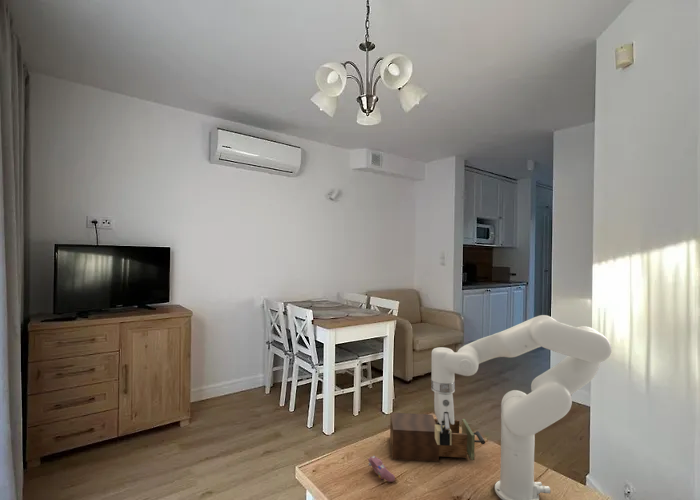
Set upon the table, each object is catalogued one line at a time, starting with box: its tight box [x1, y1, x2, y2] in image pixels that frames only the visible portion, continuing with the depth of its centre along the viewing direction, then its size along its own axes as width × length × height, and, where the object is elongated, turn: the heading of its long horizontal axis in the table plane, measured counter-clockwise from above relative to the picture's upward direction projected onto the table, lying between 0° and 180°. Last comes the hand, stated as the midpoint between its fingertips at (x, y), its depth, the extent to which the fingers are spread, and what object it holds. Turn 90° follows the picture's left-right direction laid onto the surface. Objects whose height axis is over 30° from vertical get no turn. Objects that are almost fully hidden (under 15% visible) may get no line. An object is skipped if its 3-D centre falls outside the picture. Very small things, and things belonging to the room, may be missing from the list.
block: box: [435, 425, 451, 445], centre depth 122 cm, size 5×5×5 cm
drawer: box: [434, 418, 486, 461], centre depth 139 cm, size 20×13×9 cm, turn 87°
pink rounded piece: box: [367, 455, 396, 483], centre depth 122 cm, size 10×5×7 cm, turn 25°
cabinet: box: [389, 412, 440, 462], centre depth 139 cm, size 17×15×11 cm
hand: (443, 440), depth 122 cm, fingers closed on block, 4 cm apart
